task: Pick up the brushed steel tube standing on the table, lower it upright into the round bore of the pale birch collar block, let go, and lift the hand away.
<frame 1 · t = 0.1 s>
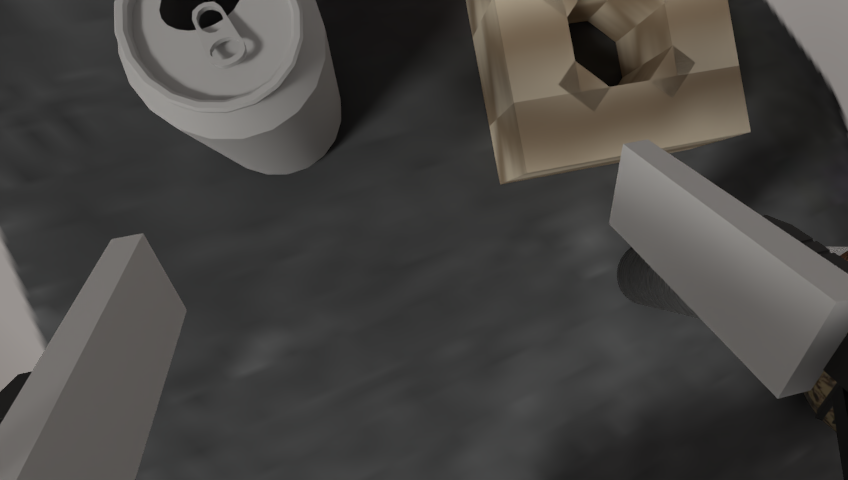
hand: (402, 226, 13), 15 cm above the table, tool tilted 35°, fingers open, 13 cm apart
can: (279, 115, 28), on the table
collar: (578, 66, 29), on the table
decorative egg: (814, 370, 32), on the table
tube: (646, 274, 30), on the table
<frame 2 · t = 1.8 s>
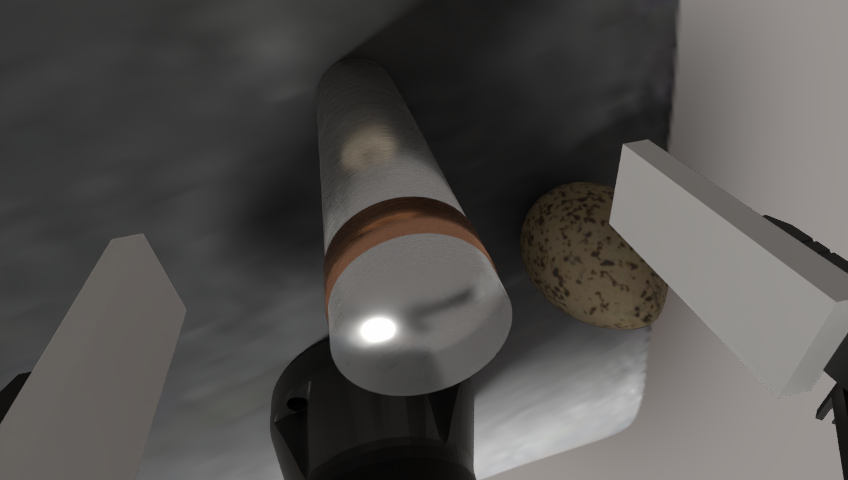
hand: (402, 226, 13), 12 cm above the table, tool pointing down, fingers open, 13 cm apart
decorative egg: (552, 208, 29), on the table
tube: (357, 100, 23), on the table
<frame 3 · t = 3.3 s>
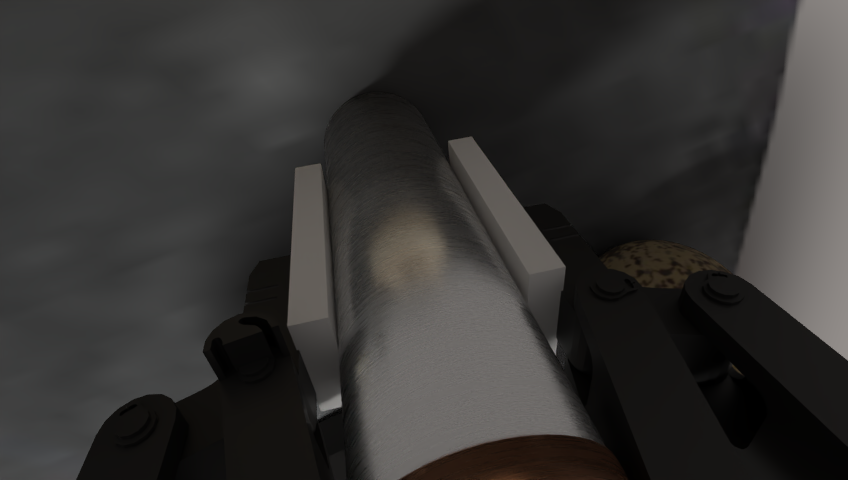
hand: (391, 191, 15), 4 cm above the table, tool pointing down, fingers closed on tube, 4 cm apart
decorative egg: (610, 264, 24), on the table
tube: (377, 144, 18), on the table, touching gripper
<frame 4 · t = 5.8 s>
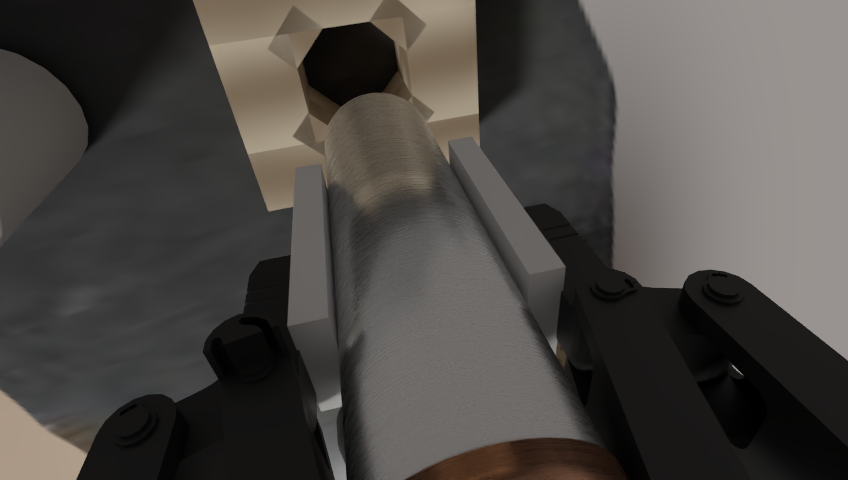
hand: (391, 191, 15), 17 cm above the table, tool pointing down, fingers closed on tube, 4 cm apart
can: (18, 110, 26), on the table
collar: (350, 58, 28), on the table
tube: (378, 145, 17), point 13 cm above the table, touching gripper
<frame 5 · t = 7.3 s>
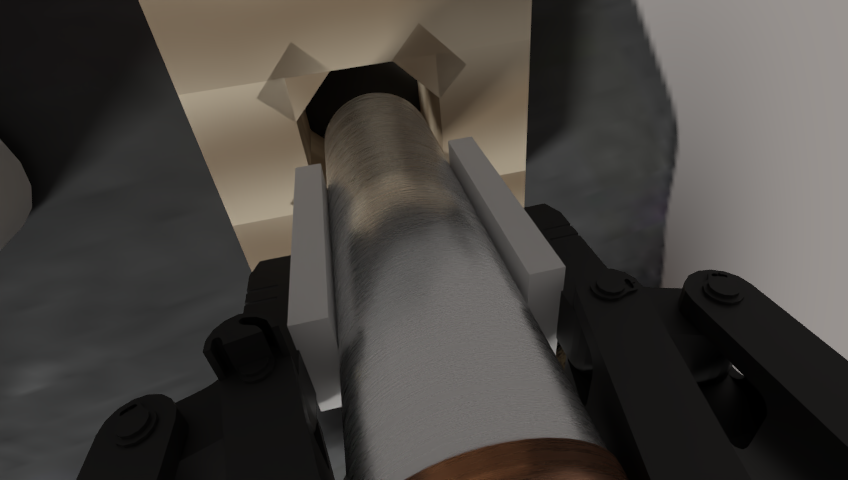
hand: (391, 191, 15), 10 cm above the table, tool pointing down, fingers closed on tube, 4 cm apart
collar: (362, 97, 22), on the table
tube: (378, 145, 17), point 6 cm above the table, touching gripper
when the fingers open (7 cm above the table, at t = 8.3 s): tube drops 2 cm, resting in collar.
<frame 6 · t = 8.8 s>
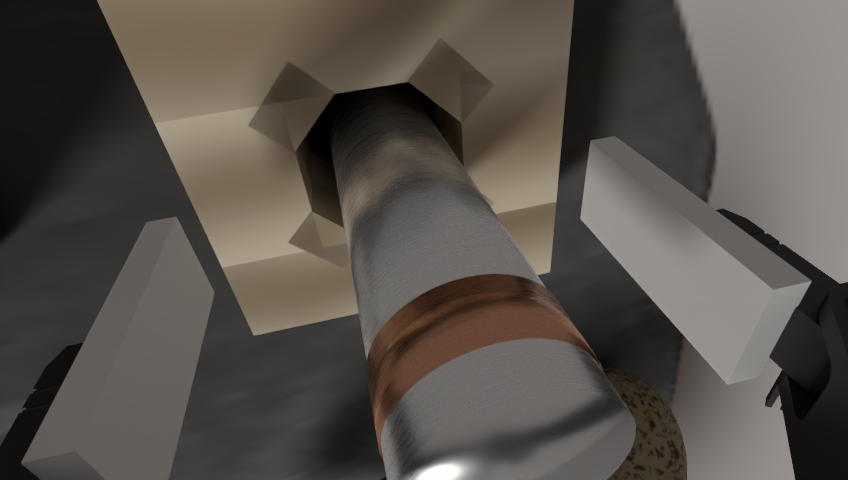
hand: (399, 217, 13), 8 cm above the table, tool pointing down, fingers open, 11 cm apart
collar: (369, 116, 20), on the table
decorative egg: (587, 375, 35), on the table
tube: (373, 117, 20), resting in collar
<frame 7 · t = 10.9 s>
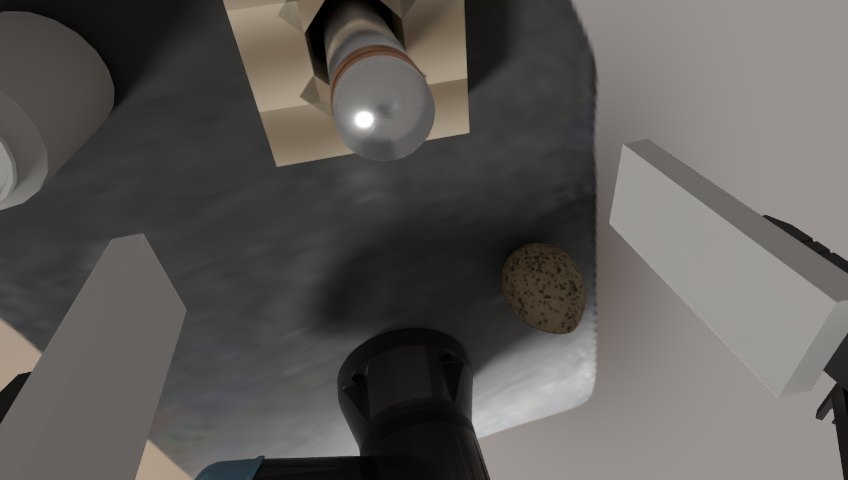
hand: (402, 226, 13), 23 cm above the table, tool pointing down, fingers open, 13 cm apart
can: (51, 73, 29), on the table
collar: (351, 29, 31), on the table
decorative egg: (523, 254, 46), on the table
tube: (353, 29, 31), resting in collar
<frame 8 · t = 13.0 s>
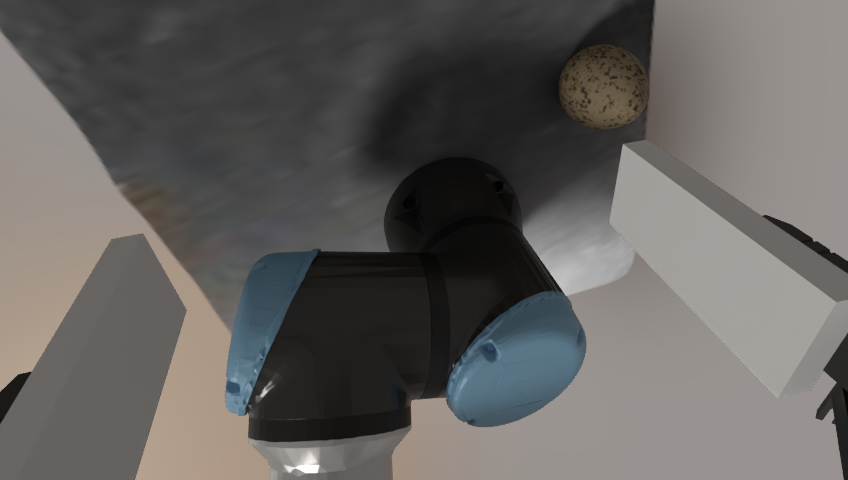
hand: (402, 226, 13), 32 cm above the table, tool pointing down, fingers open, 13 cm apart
decorative egg: (577, 73, 45), on the table
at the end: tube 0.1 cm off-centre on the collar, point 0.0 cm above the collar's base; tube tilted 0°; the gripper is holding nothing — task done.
